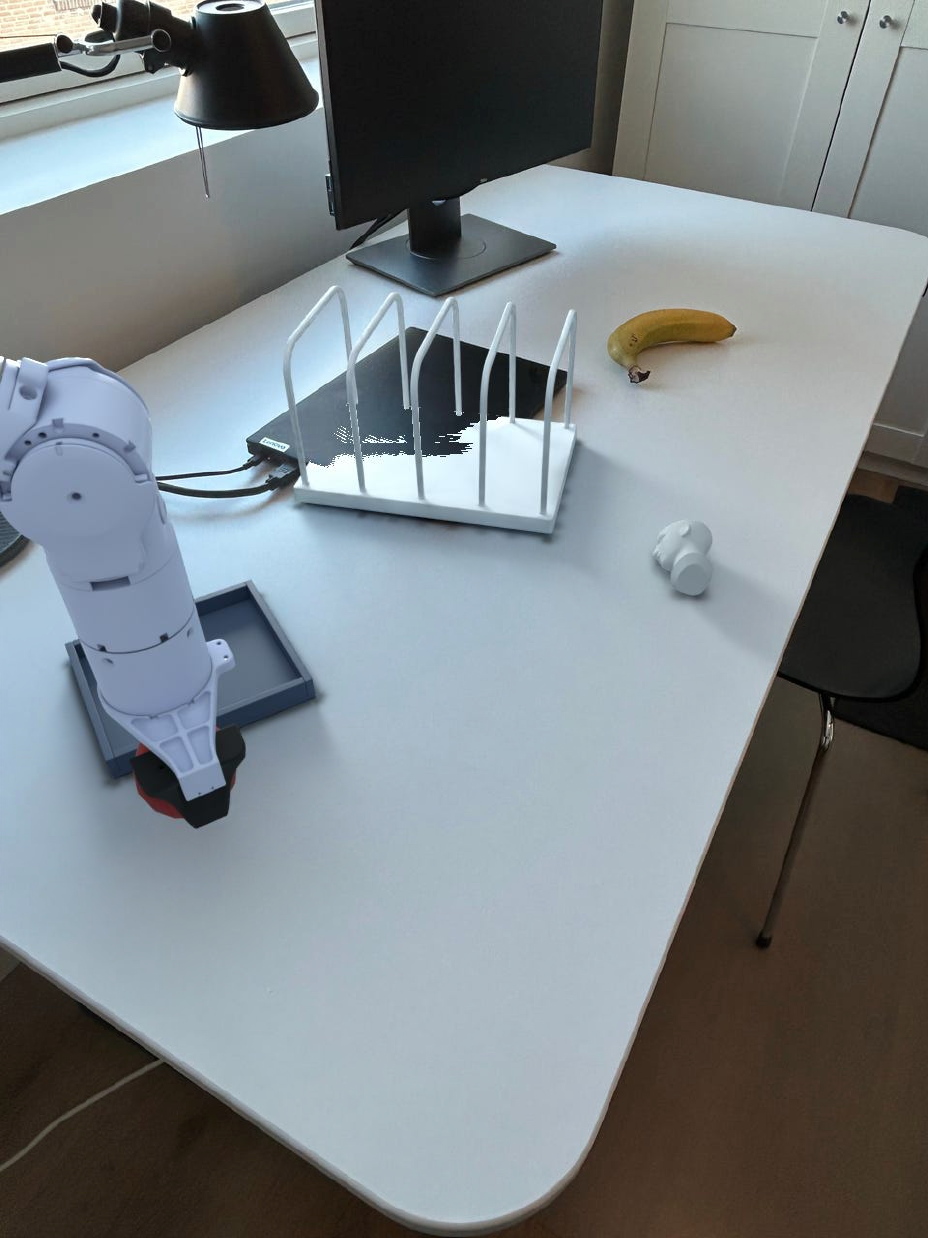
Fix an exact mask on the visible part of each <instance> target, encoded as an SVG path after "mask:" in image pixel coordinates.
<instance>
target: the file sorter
mask: <svg viewBox="0 0 928 1238" xmlns="http://www.w3.org/2000/svg"><path fill="white" fill-rule="evenodd" d="M336 294H337V296H338V300H339V304H340V312H341V319H342V326H343V335H344V343H345V353H346V360H347V365H346V366H347V367H346V375H345V381H346V382H345V384H346V395H347V404H349V412H350V420H351V428H352V436H351V437H353V440H352V439H350V440H352V441H353V444H354V452H355V456H354V454H353V455H349V454H347V455H343V454H341V455H337V456H340V457H337V456H335V457H336V458H335V460H332V461H335V462H332V463H334V464H332V463H330V464H331V465H328V466H329V467H328V466H325V467H324V466H320V465H321V464H320V465H317V464H314V463H311V462H310V461H309V462H308V464H307V465H306V457H305V450H304V445H303V440H302V434H301V433H302V432H301V427H300V422H299V416H298V410H297V405H296V398H295V392H294V387H293V386H294V385H293V380H292V370H291V369H292V368H291V363H292V362H291V361H292V354H293V350H294V348H295V345H296V343H297V342H298V341H299V339H300V338H302V336H303V334H304V333H305V332H306V331H307V329H308V328H309V327H310V326H311V324H312V323H313V322H314V321H315V319H316V318H317V317H318V315H319V314H320V313H321V312H322V311H323V309H325V307H326V306H327V305H328V303H329V302H330V301H331V300H332V299H333V297H334V296H335V295H336ZM394 302H395V304H396V305H395V306H396V311H397V323H398V324H397V325H398V339H399V341H398V342H399V352H400V355H399V356H400V367H401V368H400V369H401V383H402V396H403V397H402V398H403V406H404V409H405V410H406V409H409V407H411V410H412V424H413V437H414V450H415V454H414V455H407V454H404V453H405V452H404V453H399V455H397V456H393V455H395V454H392V455H388V454H389V453H388V454H383V453H382V454H383V455H378V454H375V455H370V456H366V455H363V456H366V457H362V452H361V444H360V436H359V427H358V419H357V410H356V404H358V401H359V397H358V388H357V379H356V370H355V367H356V363H357V360H358V357H359V354H360V352H361V351H362V349H364V347H365V345H366V343H367V342H368V340H369V339H370V338H371V336H372V335H373V333H374V332H375V330H376V329H377V327H378V326H379V325H380V323H381V322H382V320H383V318H384V317H385V315H386V314H387V312H388V311H389V309H390V308H391V306H392V305H393V303H394ZM450 309H451V311H452V312H451V313H452V331H453V364H454V393H455V412H456V415H457V416H461V415H462V411H463V410H462V371H461V337H460V336H461V334H460V332H461V331H460V310H459V304H458V300H457V299H456V297H453V296H449V297H448V298H447V299H445V302H444V303H443V305H442V307H441V308H440V310H439V312H438V314H437V316H436V318H435V319H434V320H433V323H432V325H431V326H430V328H429V330H428V332H427V333H426V335H425V337H424V339H423V341H422V343H421V344H420V347H419V348H418V351H417V352H416V354H415V357H414V360H413V363H412V368H411V375H410V385H409V378H408V376H409V375H408V359H407V343H406V341H407V339H406V325H405V312H404V302H403V299H402V296H401V294H400V293H398V292H391V293H390V294H388V296H387V298H386V299H385V300H384V302H383V303H382V304H381V306H380V308H378V311H377V312H376V314H375V315H374V316H373V317H372V319H371V320H370V322H369V324H367V326H366V327H365V329H364V331H363V332H362V334H361V335H360V337H359V338H358V340H357V341H356V342H355V344H354V345H353V344H352V336H351V327H350V319H349V311H348V303H347V298H346V294H345V292H344V289H343V288H342V287H340V286H338V285H333V286H331V287H329V289H328V290H327V291H326V292H325V293H324V294H323V295H322V297H321V298H320V299H319V301H318V302H317V303H316V304H315V305H314V307H313V308H312V309H311V310H310V311H309V313H308V314H307V315H306V316H305V317H304V319H303V320H302V321H301V322H300V324H299V325H298V326H297V327H296V329H295V330H293V332H292V333H291V335H290V336H289V337H288V339H287V342H286V343H285V347H284V350H283V359H282V375H283V381H284V387H285V394H286V400H287V406H288V411H289V417H290V422H291V428H292V434H293V440H294V446H295V452H296V456H297V461H298V467H299V473H300V476H299V477H298V479H297V480H296V482H295V484H294V485H293V494H294V500H295V501H296V502H298V503H307V504H315V505H324V506H330V507H340V508H348V509H356V510H364V511H372V512H379V513H387V514H393V515H402V516H409V517H419V518H426V519H432V520H433V519H434V520H441V521H449V522H455V523H456V522H457V523H464V524H473V525H481V526H487V527H495V528H496V527H497V528H503V529H511V530H518V531H526V532H534V533H542V534H552V533H553V532H554V528H555V525H556V521H557V516H558V513H559V508H560V504H561V501H562V496H563V494H564V488H565V485H566V480H567V477H568V472H569V468H570V465H571V462H572V457H573V453H574V450H575V445H576V442H577V435H578V425H577V424H576V423H571V413H572V412H571V411H572V397H573V384H574V370H575V357H576V343H577V342H576V341H577V328H578V312H577V310H576V309H569V311H568V314H567V316H566V319H565V321H564V322H565V323H564V325H563V327H562V331H561V334H560V337H559V340H558V343H557V345H556V349H555V352H554V355H553V358H552V361H551V364H550V366H549V367H550V368H549V372H548V377H547V383H546V391H545V399H544V419H543V420H539V419H530V418H520V417H516V373H517V372H516V368H517V367H516V366H517V365H516V363H517V361H516V360H517V359H516V358H517V357H516V356H517V308H516V304H515V302H513V301H509V302H507V304H506V305H505V308H504V310H503V313H502V316H501V319H500V321H499V324H498V327H497V329H496V332H495V335H494V337H493V339H492V343H491V346H490V348H489V350H488V353H487V356H486V359H485V361H484V362H485V363H484V366H483V370H482V376H481V383H480V395H479V396H480V398H479V399H480V400H479V414H480V421H479V422H478V423H470V425H474V426H473V427H467V428H465V429H466V430H461V431H460V432H458V433H462V434H447V435H453V436H461V437H460V439H458V440H456V441H449V442H459V443H473V444H469V445H467V446H470V447H465V448H472V449H466V450H461V451H468V452H462V453H463V454H450V455H437V456H433V455H431V456H427V457H422V456H426V455H422V450H421V436H420V422H419V408H420V407H419V376H420V371H421V366H422V362H423V360H424V358H425V356H426V354H427V353H428V350H429V349H430V346H431V345H432V343H433V341H434V339H435V337H436V335H437V333H438V332H439V330H440V327H441V326H442V324H443V322H444V320H445V319H446V317H447V315H448V312H449V311H450ZM508 322H509V376H508V377H509V404H508V405H509V408H508V412H509V415H508V416H501V417H498V418H497V419H496V420H488V421H487V415H488V393H489V383H490V374H491V371H492V367H493V364H494V361H495V358H496V355H497V353H498V350H499V347H500V344H501V341H502V338H503V335H504V333H505V330H506V327H507V325H508ZM568 338H569V345H568V359H567V372H566V373H567V374H566V375H567V376H566V388H565V401H564V402H565V403H564V419H563V420H564V421H563V422H558V421H552V413H553V411H552V410H553V396H554V388H555V382H556V375H557V372H558V368H559V365H560V362H561V359H562V355H563V353H564V351H565V347H566V343H567V341H568ZM409 386H410V391H409ZM341 427H342V426H341ZM343 428H344V427H343ZM338 429H339V428H338ZM344 429H345V430H346V428H344ZM340 430H341V429H340ZM341 431H343V430H341ZM337 432H338V431H337ZM343 432H344V433H346V432H345V431H343ZM348 432H349V431H348ZM339 433H340V432H339ZM334 434H335V433H334ZM340 434H342V433H340ZM336 435H337V434H336ZM342 435H343V436H345V437H347V436H346V435H344V434H342ZM347 435H348V434H347ZM337 436H339V435H337ZM349 436H350V435H349ZM369 436H371V435H369ZM404 436H405V435H404ZM339 437H341V436H339ZM371 437H373V438H375V439H377V438H376V437H374V436H371ZM399 437H400V438H403V437H402V436H399ZM439 437H445V436H439ZM341 438H342V439H344V440H346V439H345V438H343V437H341ZM366 438H367V437H366ZM381 438H382V437H381ZM337 439H338V438H337ZM348 439H349V438H348ZM368 439H370V438H368ZM368 439H365V441H368V442H370V443H377V442H378V443H385V442H386V443H393V442H396V441H392V440H389V441H392V442H389V441H386V440H388V439H386V440H383V439H380V441H383V442H379V441H376V440H373V439H370V440H368ZM384 439H385V438H384ZM403 439H404V438H403ZM450 439H453V438H450ZM371 440H372V441H371ZM378 440H379V439H378ZM397 440H399V442H396V443H404V442H406V441H405V440H401V439H397ZM341 441H342V440H341ZM374 441H375V442H374ZM342 442H344V441H342ZM362 442H363V443H367V442H364V441H362ZM344 443H347V442H344ZM350 443H351V442H350ZM406 443H407V442H406ZM435 443H440V442H435ZM400 452H403V451H400ZM376 453H377V452H376ZM384 453H385V452H384ZM344 454H345V453H344ZM372 454H373V453H372ZM402 454H403V455H402ZM342 455H343V456H342ZM348 455H349V456H348ZM367 455H368V454H367ZM376 455H378V456H376ZM429 455H430V454H429ZM351 456H352V457H351ZM373 456H374V457H373ZM380 456H381V457H380ZM440 456H446V457H440ZM354 457H355V458H354ZM368 457H369V458H368ZM338 458H339V459H338ZM362 458H364V459H362ZM333 459H334V458H333ZM363 460H364V461H363ZM333 465H334V466H333ZM327 467H328V468H327Z"/></svg>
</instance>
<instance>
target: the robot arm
mask: <svg viewBox="0 0 928 1238" xmlns="http://www.w3.org/2000/svg"><path fill="white" fill-rule="evenodd" d="M4 359H5V357H3V356H0V372H1V371H2V372H1V376H0V513H1V514H2V516H3V518H4V519H5V520H6V521H7V523H9V524H10V526H12V528H13V529H14V530H16V531H17V532H18V533H19V534H21V535H22V536H23V537H25V538H27V539H28V540H29V541H32V542H34V543H35V544H37V545H39V546H41V547H42V550H43V552H44V554H45V559H46V564H47V567H48V568H49V571H50V572H51V574H52V577H53V580H54V583H55V584H56V587H57V589H58V591H59V594H60V596H61V599H62V601H63V604H64V606H65V609H66V611H67V614H68V616H69V618H70V621H71V623H72V625H73V627H74V629H75V634H76V635H77V639H79V640H80V643H81V645H82V647H83V650H84V652H85V655H86V657H87V659H88V662H89V664H90V667H91V669H92V671H93V674H94V676H95V679H96V681H97V692H98V696H99V699H100V701H101V704H102V706H103V708H104V709H105V711H106V712H107V713H108V714H109V715H110V716H111V717H112V718H113V719H114V720H115V721H117V722H118V723H119V724H120V725H121V726H122V727H124V728H125V729H126V730H127V731H128V732H130V733H131V734H132V735H133V736H134V737H135V738H137V739H138V740H139V741H140V742H141V743H143V744H144V745H145V746H146V747H147V748H148V749H150V750H151V751H148V752H146V753H143V754H141V755H138V756H136V757H133V758H131V759H129V761H130V764H131V767H132V769H133V771H132V773H133V772H134V774H133V776H134V775H135V777H136V780H137V782H138V785H139V787H140V788H141V789H142V790H143V792H144V793H145V794H146V795H148V796H149V797H151V798H157V799H161V800H164V801H166V802H168V803H169V804H171V805H172V806H173V807H174V808H175V809H176V810H177V811H178V812H179V813H180V815H181V816H182V817H183V818H184V819H183V820H185V822H186V823H188V824H189V826H191V827H192V828H193V829H195V830H198V829H200V828H202V827H205V826H208V825H209V824H212V823H214V822H216V821H219V820H221V819H223V818H225V817H227V816H228V814H229V811H230V804H231V794H232V793H231V792H232V790H231V783H232V779H233V776H234V773H235V771H236V769H237V768H239V766H240V765H241V763H242V762H243V761H244V760H245V758H246V756H247V755H246V754H247V746H246V741H245V739H244V737H243V735H242V732H241V731H240V728H238V727H237V725H236V724H233V725H230V726H228V727H225V728H223V729H220V730H218V731H216V709H217V685H218V677H219V676H220V674H222V673H224V672H226V671H229V670H231V669H232V668H233V667H234V666H235V660H234V657H233V654H232V652H231V650H230V648H229V646H228V644H227V642H226V641H224V640H222V639H216V640H213V641H210V642H206V641H205V638H204V634H203V631H202V627H201V624H200V620H199V617H198V613H197V609H196V606H195V602H194V599H195V597H194V594H193V591H192V587H191V584H190V580H189V577H188V573H187V570H186V566H185V562H184V559H183V556H182V552H181V547H180V544H179V541H178V538H177V535H176V531H175V528H174V525H173V523H172V521H171V519H170V518H169V516H168V511H167V505H166V501H165V499H164V498H163V496H162V494H161V492H160V489H159V485H158V482H157V478H156V476H155V473H154V472H153V426H152V421H151V417H150V412H149V409H148V407H147V405H146V402H145V401H144V399H143V396H141V394H140V393H139V391H138V390H137V389H136V388H135V387H134V386H133V385H132V384H131V383H130V382H128V381H127V380H126V379H125V378H124V377H122V376H121V375H119V374H117V373H116V372H113V370H110V369H107V368H106V367H105V368H104V366H102V365H100V363H98V362H97V361H95V360H93V359H91V358H85V357H63V358H57V359H52V360H49V361H46V362H39V361H36V360H34V359H31V358H28V357H21V360H20V359H16V361H15V360H12V359H9V358H6V359H5V362H4ZM3 363H4V365H3ZM2 367H3V368H2ZM237 770H238V769H237ZM236 772H237V771H236Z"/></svg>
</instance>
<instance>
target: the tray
mask: <svg viewBox="0 0 928 1238" xmlns="http://www.w3.org/2000/svg"><path fill="white" fill-rule="evenodd" d="M194 602H195V606H196V609H197V613H198V617H199V620H200V624H201V627H202V631H203V634H204V638H205V641H206V642H210V641H213V640H216V639H222V640H224V641H226V642H227V644H228V646H229V648H230V650H231V652H232V654H233V657H234V660H235V666H234V667H233V668H232V669H231V670H229V671H226V672H224V673H222V674H220V676H219V677H218V685H217V709H216V727H217V728H219V729H223V728H225V727H228V726H230V725H233V724H236V725H237V727H238V729H240V728H242V727H244V726H247V725H250V724H253V723H254V722H257V721H259V720H262V719H265V718H267V717H269V716H271V715H274V714H277V713H280V712H282V711H283V710H287V709H290V708H291V707H294V706H296V705H299V704H302V703H304V702H307V701H309V700H311V699H313V698H316V695H317V694H316V689H315V684H314V678H313V677H312V676H311V674H310V672H309V671H308V669H307V668H306V667H307V666H306V665H305V664H304V663H303V661H302V659H301V658H300V656H299V655H298V653H297V651H296V650H295V648H294V646H293V644H292V643H291V642H290V640H289V638H288V636H287V634H285V632H284V630H283V628H282V626H281V625H280V624H279V622H278V620H277V619H276V617H275V616H274V614H273V612H272V610H271V609H270V607H269V606H268V604H267V602H266V601H265V599H264V597H263V596H262V594H261V592H260V591H259V590H258V588H257V586H256V585H255V583H254V582H253V580H252V579H248V580H245V581H243V582H239V583H237V584H234V585H231V586H228V587H224V588H222V589H219V590H216V591H214V592H210V593H208V594H204V595H202V596H199V597H196V598H194ZM64 647H65V651H66V653H67V656H68V660H69V661H70V664H71V667H72V670H73V672H74V675H75V679H76V681H77V684H78V687H79V690H80V693H81V695H82V699H83V702H84V704H85V707H86V710H87V713H88V716H89V719H90V721H91V725H92V727H93V731H94V733H95V737H96V739H97V741H98V744H99V748H100V750H101V753H102V756H103V759H104V762H105V763H106V766H107V768H108V771H109V772H110V775H111V777H112V779H116V778H119V777H121V776H124V775H127V774H129V773H133V769H132V767H131V764H130V761H129V759H131V758H133V757H135V756H136V752H137V749H138V746H139V744H140V741H139V740H138V739H137V738H135V737H134V736H133V735H132V734H131V733H130V732H128V731H127V730H126V729H125V728H124V727H122V726H121V725H120V724H119V723H118V722H117V721H115V720H114V719H113V718H112V717H111V716H110V715H109V714H108V713H107V712H106V711H105V709H104V708H103V706H102V704H101V701H100V699H99V696H98V692H97V681H96V679H95V676H94V674H93V671H92V669H91V667H90V664H89V662H88V659H87V657H86V655H85V652H84V650H83V647H82V645H81V643H80V640H79V638H77V639H73V640H72V641H68V642H65V643H64Z"/></svg>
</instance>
